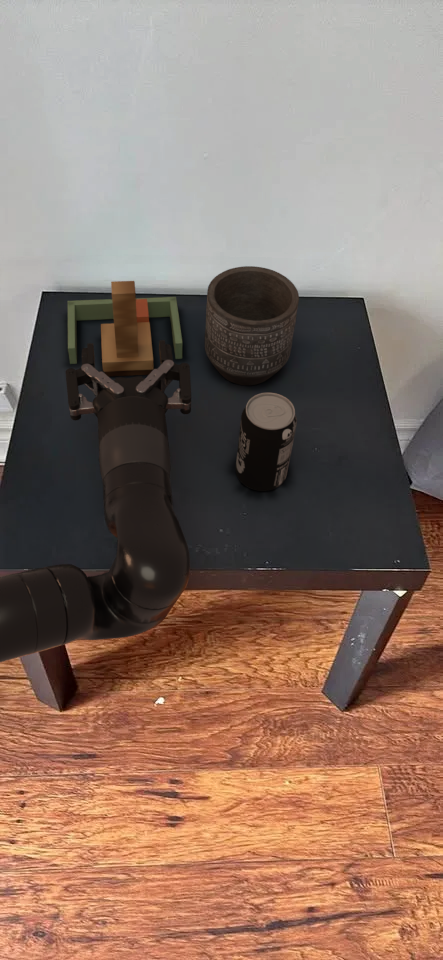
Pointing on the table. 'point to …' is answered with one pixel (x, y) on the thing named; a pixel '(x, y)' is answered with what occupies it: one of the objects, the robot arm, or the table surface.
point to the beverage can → (265, 441)
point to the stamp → (126, 336)
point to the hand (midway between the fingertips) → (126, 347)
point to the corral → (105, 311)
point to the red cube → (142, 310)
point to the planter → (250, 323)
